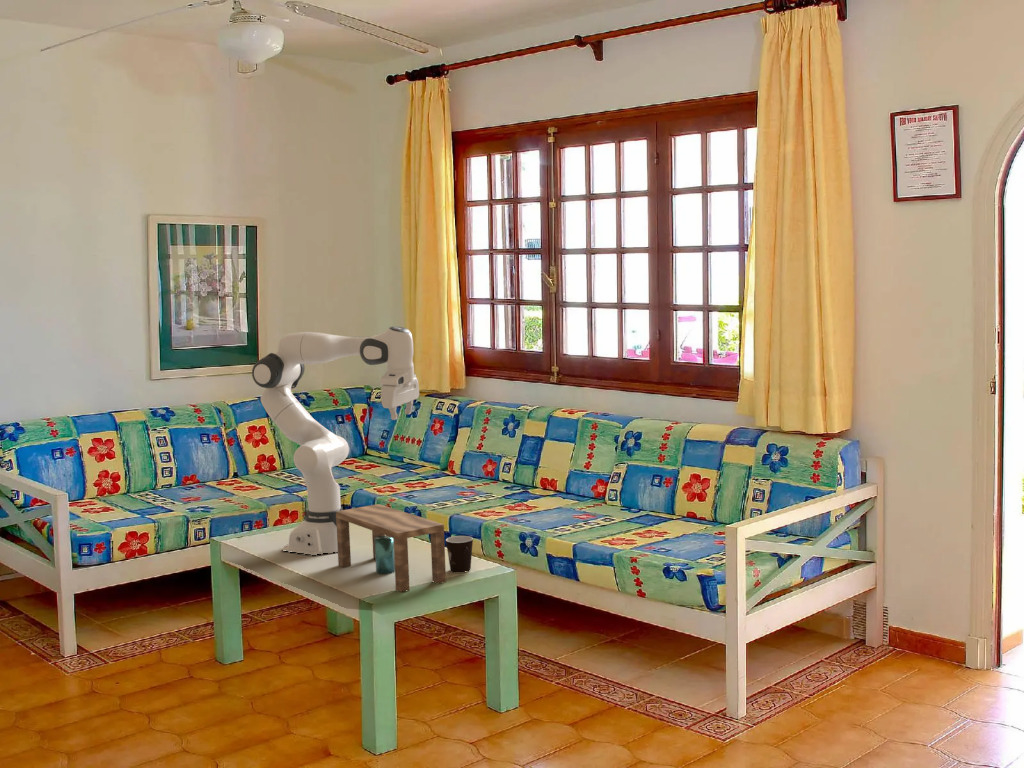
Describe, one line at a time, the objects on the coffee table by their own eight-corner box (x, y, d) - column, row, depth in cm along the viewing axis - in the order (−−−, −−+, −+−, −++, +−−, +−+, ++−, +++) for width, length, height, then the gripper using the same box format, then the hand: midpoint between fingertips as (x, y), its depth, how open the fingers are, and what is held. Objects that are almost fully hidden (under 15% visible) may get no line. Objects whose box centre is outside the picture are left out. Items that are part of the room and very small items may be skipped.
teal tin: (372, 573, 341) (371, 539, 339) (381, 568, 346) (379, 535, 345) (390, 574, 339) (388, 540, 338) (398, 569, 344) (396, 536, 343)
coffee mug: (448, 566, 346) (447, 536, 345) (474, 566, 346) (473, 535, 345) (444, 576, 334) (443, 545, 333) (472, 576, 334) (471, 544, 333)
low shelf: (400, 592, 319) (398, 533, 317) (338, 565, 351) (335, 511, 350) (445, 581, 329) (443, 524, 327) (381, 556, 361) (378, 504, 359)
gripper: (407, 370, 366) (407, 410, 368) (377, 380, 347) (378, 421, 350) (423, 371, 363) (424, 411, 366) (394, 381, 345) (395, 423, 347)
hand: (401, 416), depth 358 cm, fingers open, 8 cm apart
